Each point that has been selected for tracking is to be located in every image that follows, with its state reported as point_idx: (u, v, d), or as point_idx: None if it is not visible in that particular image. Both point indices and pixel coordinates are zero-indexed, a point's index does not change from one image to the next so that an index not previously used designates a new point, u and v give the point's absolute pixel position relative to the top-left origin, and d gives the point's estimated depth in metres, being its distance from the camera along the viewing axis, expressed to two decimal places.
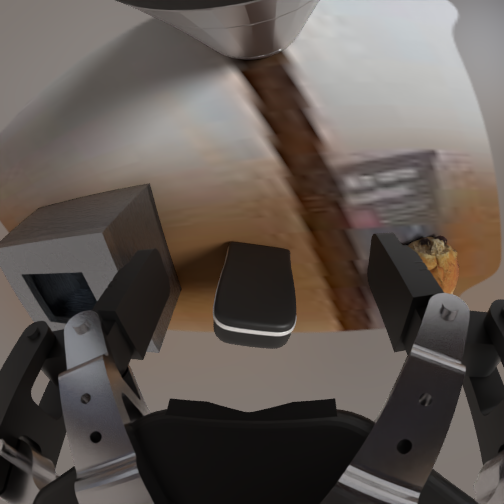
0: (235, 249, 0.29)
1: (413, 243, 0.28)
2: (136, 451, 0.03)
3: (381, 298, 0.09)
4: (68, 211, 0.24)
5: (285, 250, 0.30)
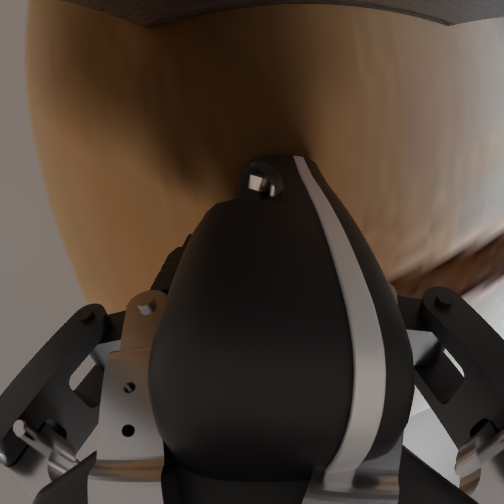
0: None
1: None
2: None
3: None
4: None
5: None
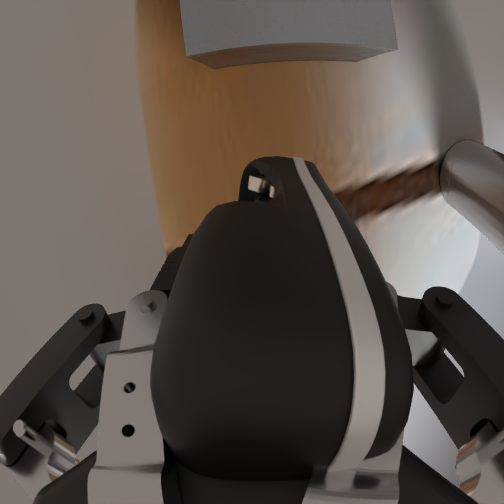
0: None
1: None
2: None
3: None
4: None
5: None
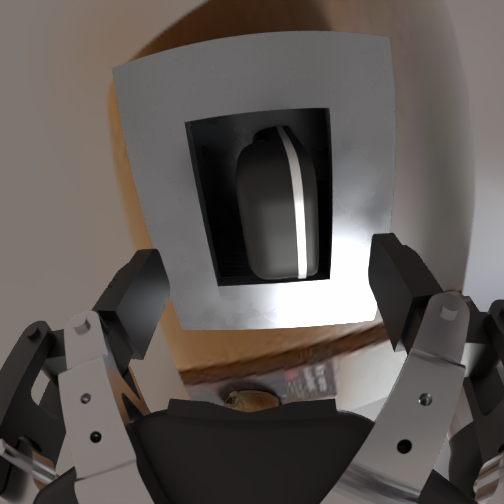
0: None
1: (277, 399, 0.42)
2: (136, 451, 0.03)
3: (381, 298, 0.09)
4: None
5: None
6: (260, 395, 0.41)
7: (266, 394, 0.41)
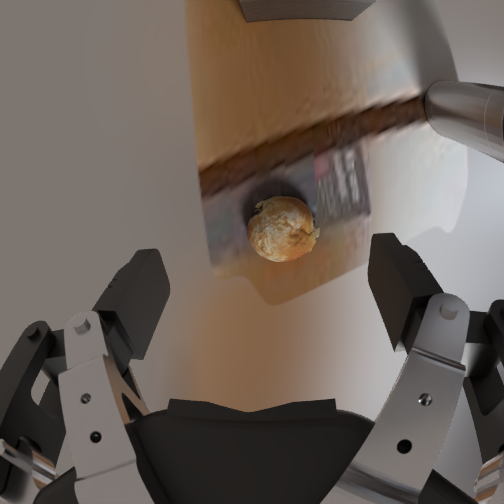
0: None
1: None
2: (136, 451, 0.03)
3: (381, 298, 0.09)
4: None
5: None
6: (291, 198, 0.39)
7: (297, 199, 0.39)
